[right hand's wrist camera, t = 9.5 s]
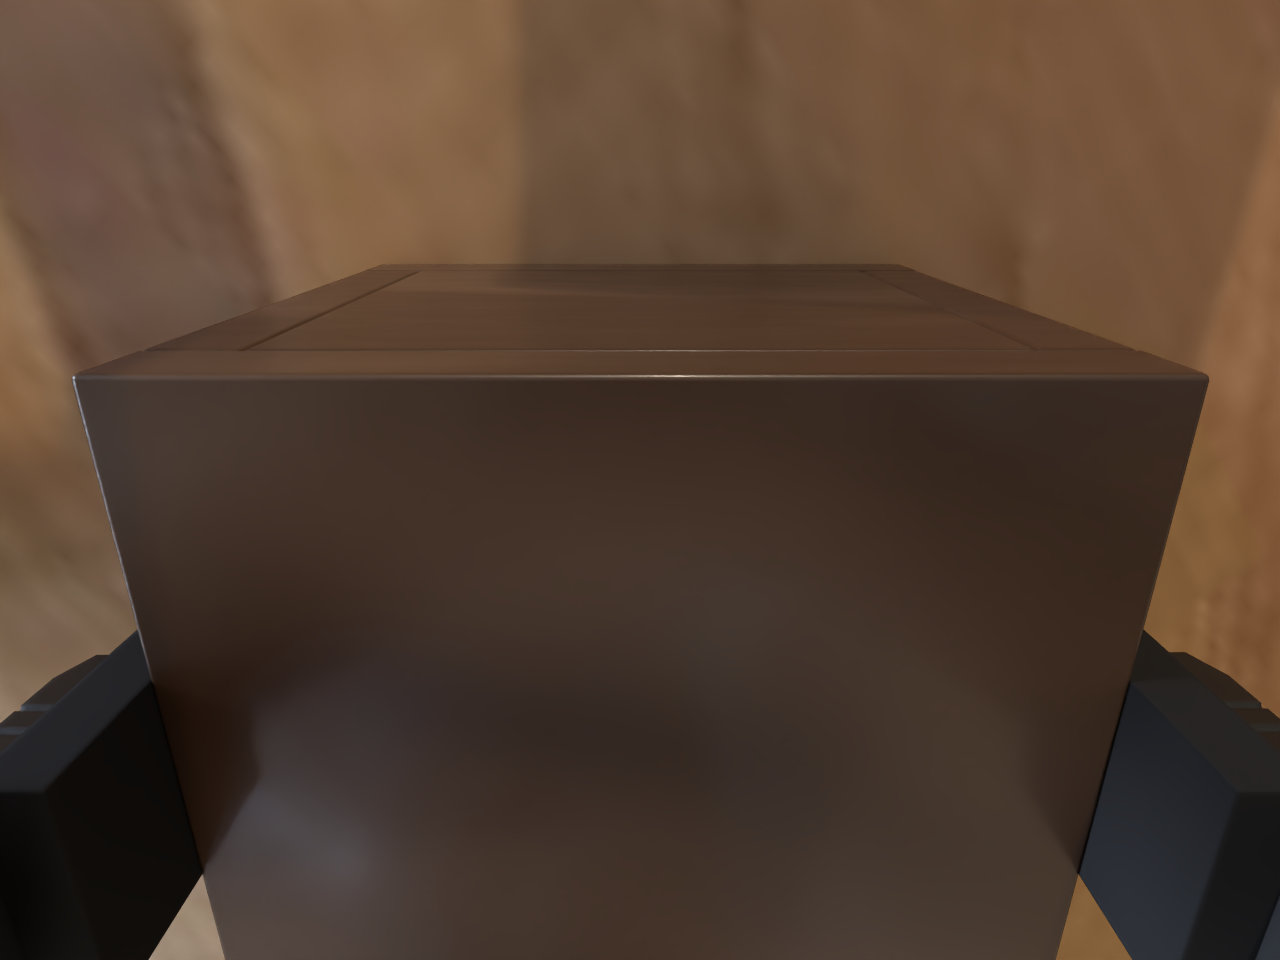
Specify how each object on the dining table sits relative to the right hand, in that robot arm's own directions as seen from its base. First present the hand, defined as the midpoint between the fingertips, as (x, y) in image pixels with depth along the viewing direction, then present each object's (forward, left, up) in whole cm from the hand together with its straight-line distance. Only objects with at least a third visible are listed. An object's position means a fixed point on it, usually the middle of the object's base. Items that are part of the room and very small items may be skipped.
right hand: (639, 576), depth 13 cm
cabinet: (+1, -6, -4) cm, 7 cm away
